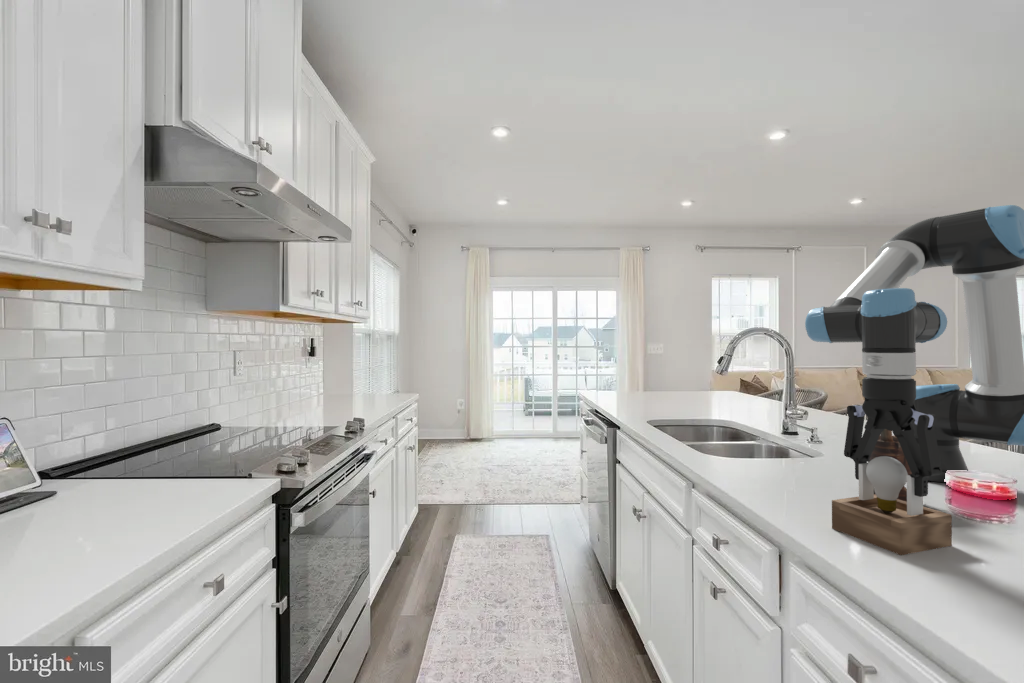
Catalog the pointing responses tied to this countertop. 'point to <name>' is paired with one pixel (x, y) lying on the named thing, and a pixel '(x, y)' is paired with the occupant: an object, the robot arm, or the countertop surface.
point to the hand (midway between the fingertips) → (889, 506)
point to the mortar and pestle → (891, 454)
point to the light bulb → (886, 481)
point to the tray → (892, 525)
